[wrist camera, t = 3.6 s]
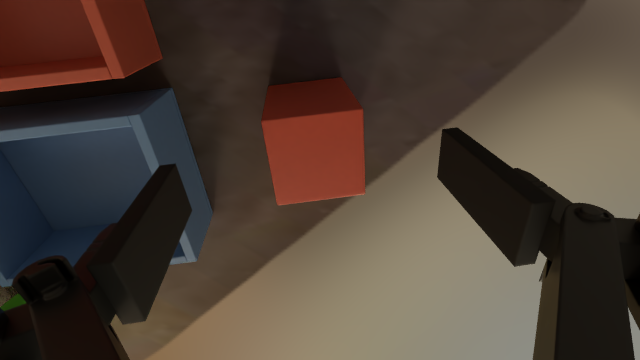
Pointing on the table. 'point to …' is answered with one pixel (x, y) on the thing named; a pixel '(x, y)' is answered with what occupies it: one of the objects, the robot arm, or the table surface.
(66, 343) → the robot arm
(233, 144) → the table surface
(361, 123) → the red block
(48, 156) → the blue bin
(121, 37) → the red bin
